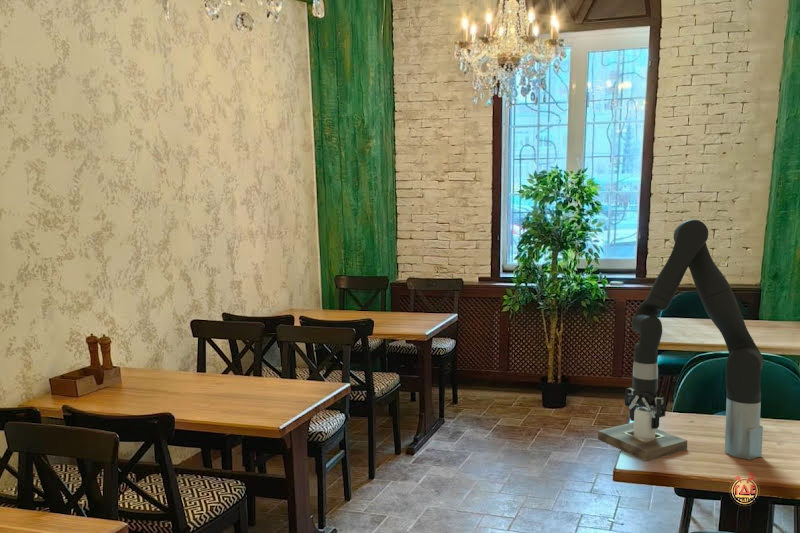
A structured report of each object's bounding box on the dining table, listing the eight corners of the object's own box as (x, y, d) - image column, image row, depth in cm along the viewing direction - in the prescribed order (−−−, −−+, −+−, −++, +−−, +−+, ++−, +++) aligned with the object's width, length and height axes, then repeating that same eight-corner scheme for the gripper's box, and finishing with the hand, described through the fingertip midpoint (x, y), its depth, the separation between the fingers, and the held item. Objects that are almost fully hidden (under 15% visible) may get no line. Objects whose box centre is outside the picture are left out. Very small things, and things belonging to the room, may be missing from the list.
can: (656, 448, 198) (657, 411, 197) (635, 447, 199) (636, 410, 198) (652, 441, 204) (653, 405, 203) (632, 439, 205) (632, 404, 204)
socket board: (687, 449, 196) (687, 439, 196) (646, 461, 188) (646, 450, 188) (636, 429, 214) (637, 420, 214) (597, 439, 206) (597, 430, 206)
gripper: (672, 379, 195) (670, 429, 196) (636, 368, 208) (635, 416, 209) (655, 382, 192) (653, 433, 193) (619, 371, 204) (618, 419, 206)
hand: (644, 424), depth 201 cm, fingers open, 8 cm apart
